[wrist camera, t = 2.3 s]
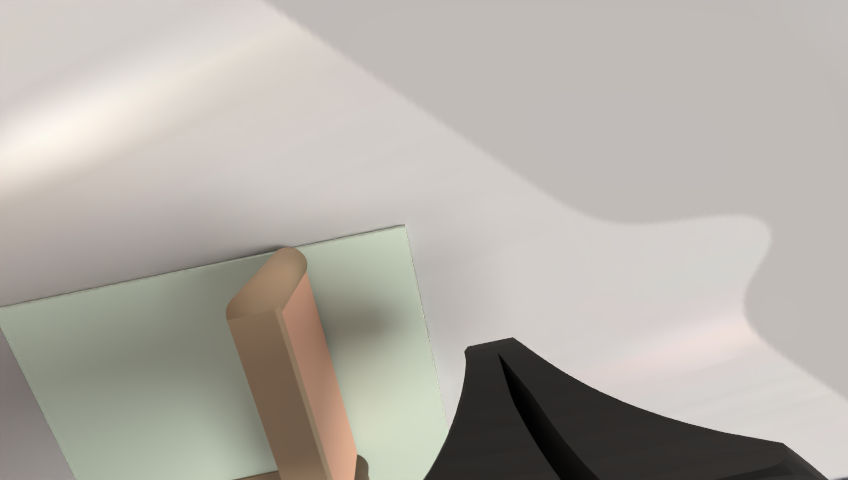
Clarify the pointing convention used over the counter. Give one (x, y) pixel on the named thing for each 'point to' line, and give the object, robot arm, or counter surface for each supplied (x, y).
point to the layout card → (228, 367)
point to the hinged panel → (292, 371)
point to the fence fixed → (361, 469)
